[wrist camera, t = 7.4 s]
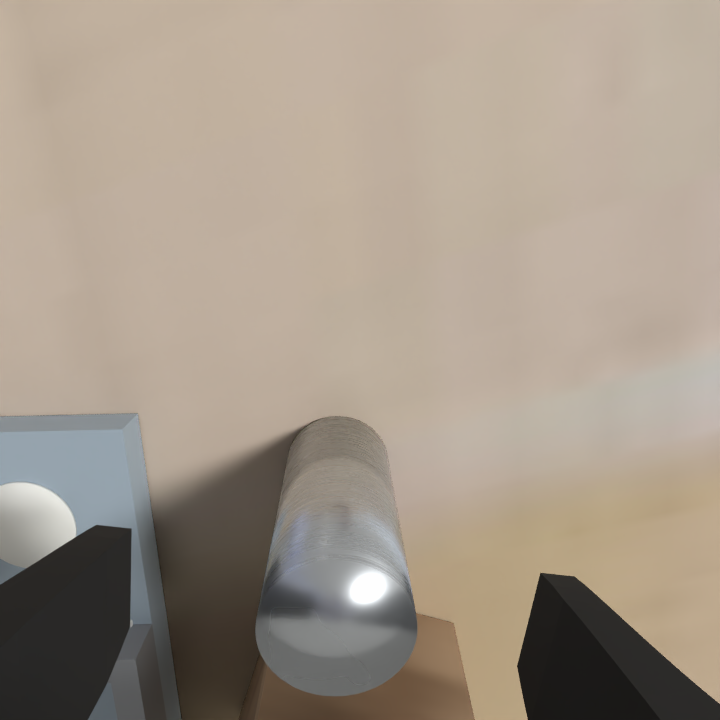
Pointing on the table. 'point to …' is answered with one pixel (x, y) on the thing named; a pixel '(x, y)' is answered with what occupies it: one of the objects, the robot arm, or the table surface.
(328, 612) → the pin
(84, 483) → the board
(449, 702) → the wooden toy block
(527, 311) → the table surface
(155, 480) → the table surface
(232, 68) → the table surface
